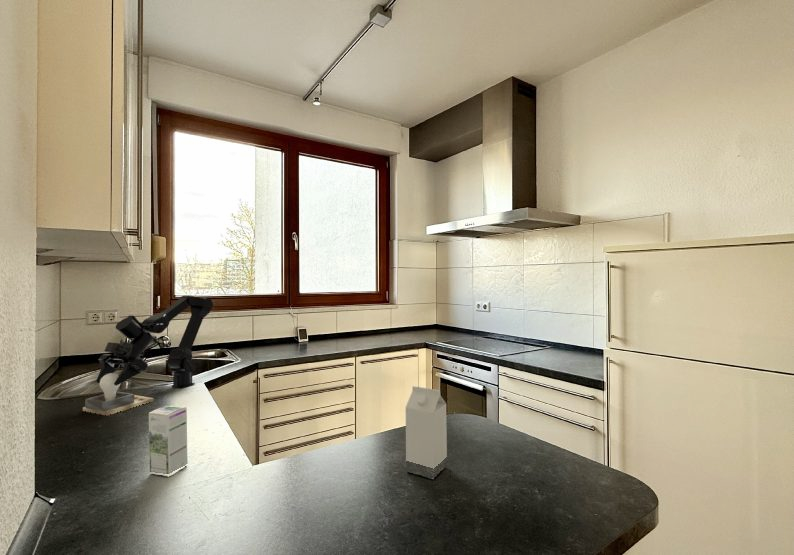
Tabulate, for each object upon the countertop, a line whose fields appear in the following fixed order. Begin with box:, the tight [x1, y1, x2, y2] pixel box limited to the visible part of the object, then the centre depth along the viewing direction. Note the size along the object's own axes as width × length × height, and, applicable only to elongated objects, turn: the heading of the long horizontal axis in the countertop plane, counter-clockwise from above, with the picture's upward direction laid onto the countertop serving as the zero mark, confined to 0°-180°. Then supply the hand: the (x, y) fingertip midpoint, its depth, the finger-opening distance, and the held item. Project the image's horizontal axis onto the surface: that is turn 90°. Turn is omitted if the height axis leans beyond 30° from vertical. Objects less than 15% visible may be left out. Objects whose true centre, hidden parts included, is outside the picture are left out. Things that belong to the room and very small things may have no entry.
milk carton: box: [405, 386, 448, 469], centre depth 90 cm, size 7×7×19 cm
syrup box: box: [148, 405, 189, 474], centre depth 91 cm, size 6×6×14 cm
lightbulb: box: [99, 372, 122, 401], centre depth 135 cm, size 6×6×11 cm
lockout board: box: [82, 390, 154, 417], centre depth 138 cm, size 16×13×4 cm
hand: (106, 383), depth 134 cm, fingers open, 9 cm apart
